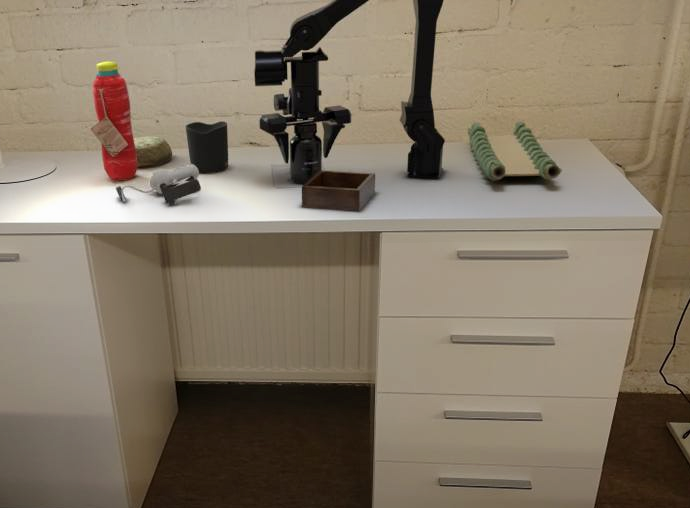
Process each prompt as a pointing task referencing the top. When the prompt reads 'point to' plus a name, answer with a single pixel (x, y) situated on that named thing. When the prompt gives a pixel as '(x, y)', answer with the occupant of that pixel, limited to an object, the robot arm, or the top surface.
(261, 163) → the top surface
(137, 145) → the mossy green stone
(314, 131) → the supplement bottle
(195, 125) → the pen holder
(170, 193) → the clip-on lamp
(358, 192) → the holder
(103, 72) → the water bottle
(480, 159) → the stretcher
